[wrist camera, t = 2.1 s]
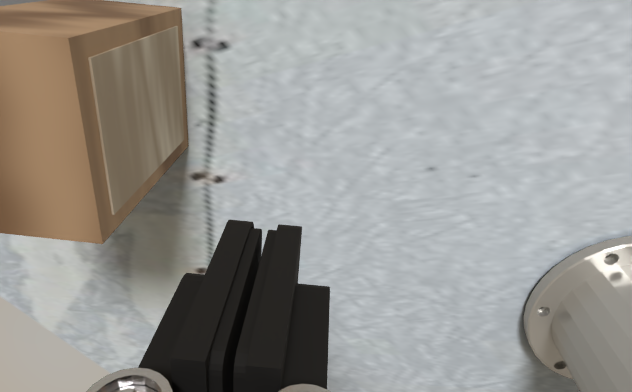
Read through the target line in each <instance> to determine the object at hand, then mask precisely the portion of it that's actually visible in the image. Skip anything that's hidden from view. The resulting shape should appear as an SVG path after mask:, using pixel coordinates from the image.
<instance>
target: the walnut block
mask: <svg viewBox="0 0 632 392" xmlns="http://www.w3.org/2000/svg"><path fill="white" fill-rule="evenodd" d="M187 147H188V128H187V109H186V91H185V72H184V53H183V35H182V16H181V8H177V7H166V6H156V5H146V4H135V3H125V2H115V1H104V0H46V1H38V2H30V3H22V4H14V5H6V6H0V233H5V234H15V235H24V236H33V237H43V238H52V239H61V240H71V241H80V242H89V243H99V244H103V243H104V242H105V241H106V240H107V239H108V237H109V236H110V235H111V234H112V233H113V232H114V231H115V229H116V228H117V227H118V226H119V225H120V224H121V223H122V221H123V220H124V219H125V218H126V217H127V216H128V215H129V213H130V212H131V211H132V210H133V209H134V208H135V207H136V205H137V204H138V203H139V202H140V201H141V200H142V199H143V197H144V196H145V195H146V194H147V193H148V192H149V191H150V189H151V188H152V187H153V186H154V185H155V184H156V183H157V181H158V180H159V179H160V178H161V177H162V176H163V174H164V173H165V172H166V171H167V170H168V169H169V168H170V166H171V165H172V164H173V163H174V162H175V161H176V160H177V158H178V157H179V156H180V155H181V154H182V153H183V152H184V150H185V149H186V148H187Z"/></svg>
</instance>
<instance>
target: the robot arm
mask: <svg viewBox="0 0 632 392" xmlns="http://www.w3.org/2000/svg"><path fill="white" fill-rule="evenodd" d="M301 234H302V227H300V226H290V225H278V228H277V231H276V230H268V233H267V237H266V241H265V244H264V248H263V252H262V256H261V247H262V230H261V229H255V228H254V224H253V222H248V221H237V220H228V222H227V224H226V226H225V229H224V231H223V234H222V236H221V238H220V241H219V243H218V245H217V248H216V250H215V252H214V255H213V257H212V259H211V262H210V264H209V266H208V269H207V271H206V274H205V275H202V274H192V273H186V274H185V275H184V276H183V278H182V280H181V282H180V284H179V286H178V288H177V290H176V292H175V294H174V296H173V298H172V300H171V302H170V304H169V306H168V308H167V310H166V312H165V314H164V316H163V318H162V320H161V322H160V324H159V326H158V328H157V330H156V332H155V334H154V336H153V338H152V341H151V343H150V345H149V347H148V349H147V351H146V353H145V355H144V357H143V359H142V361H141V363H140V365H139V367H138V368H130V369H123V370H119V371H117V372H114V373H112V374H109V375H107V376H105V377H104V378H102V379H100V380H99V381H98V382H96V383H94V384H93V385H92V386H91V387H90V388H89V389H88V390H87V391H86V392H330V391H329V390H327V365H328V333H329V300H330V287H327V286H316V285H306V284H298V271H299V259H300V246H301ZM523 319H524V331H525V334H526V337H527V340H528V342H529V344H530V346H531V348H532V350H533V352H534V354H535V355H536V356H537V358H538V359H539V360H540V361H541V362H542V363H543V364H544V365H545V366H546V367H548V368H549V369H550V370H552V371H554V372H556V373H558V374H560V375H562V376H565V377H567V378H570V379H574V381H575V383H576V385H577V387H578V389H579V390H580V392H632V236H626V237H621V238H616V239H611V240H606V241H603V242H600V243H597V244H595V245H592V246H589V247H586V248H584V249H582V250H580V251H578V252H576V253H574V254H573V255H571V256H569V257H567V258H566V259H565V260H563V261H562V262H560V263H559V264H557V265H556V266H555V267H553V268H552V269H551V270H550V271H549V272H548V273H547V274H546V275H545V276H544V277H543V278H542V279H541V280H540V282H539V283H538V284H537V286H536V287H535V289H534V290H533V291H532V293H531V295H530V298H529V300H528V302H527V304H526V308H525V313H524V318H523Z"/></svg>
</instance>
